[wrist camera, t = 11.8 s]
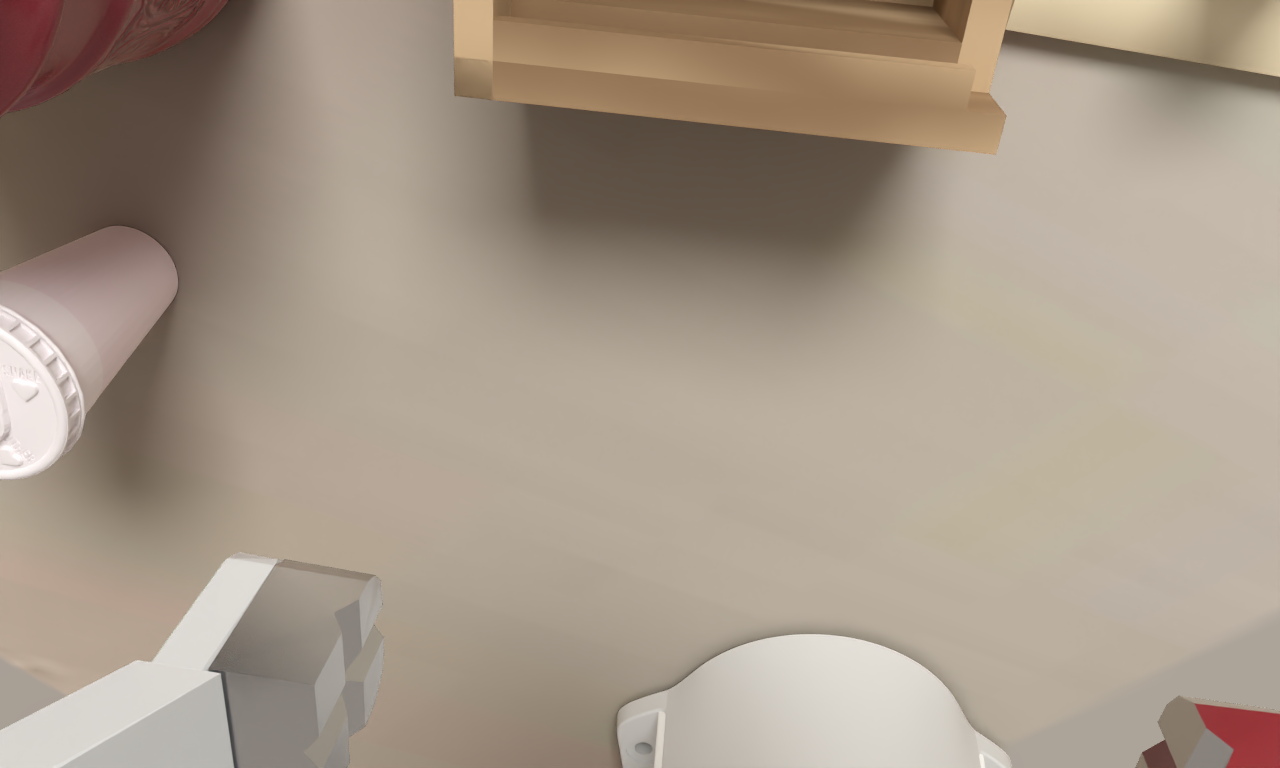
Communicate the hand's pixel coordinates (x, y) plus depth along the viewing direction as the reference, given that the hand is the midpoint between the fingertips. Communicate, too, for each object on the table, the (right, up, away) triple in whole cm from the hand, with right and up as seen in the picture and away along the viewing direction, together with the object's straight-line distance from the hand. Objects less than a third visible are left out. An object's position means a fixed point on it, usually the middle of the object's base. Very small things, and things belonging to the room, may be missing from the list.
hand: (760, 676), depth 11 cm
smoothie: (-21, +8, +29) cm, 37 cm away
